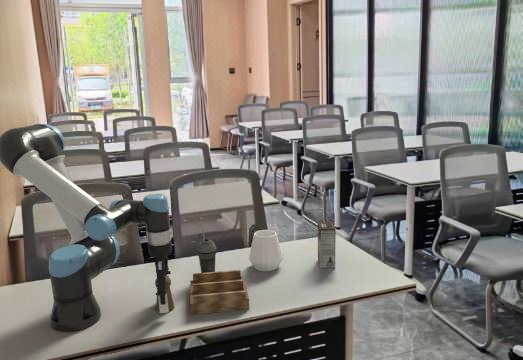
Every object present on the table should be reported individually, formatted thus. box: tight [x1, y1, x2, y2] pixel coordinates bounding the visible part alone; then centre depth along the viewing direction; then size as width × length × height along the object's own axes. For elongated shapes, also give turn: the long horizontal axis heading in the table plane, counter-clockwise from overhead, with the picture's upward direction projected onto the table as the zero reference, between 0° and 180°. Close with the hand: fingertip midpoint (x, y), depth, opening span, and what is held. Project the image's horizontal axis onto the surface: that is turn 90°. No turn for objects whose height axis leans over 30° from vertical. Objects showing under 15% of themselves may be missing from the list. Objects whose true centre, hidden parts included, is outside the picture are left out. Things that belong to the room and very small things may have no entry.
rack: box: [189, 269, 250, 315], centre depth 167 cm, size 19×18×6 cm
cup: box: [248, 229, 284, 272], centre depth 191 cm, size 13×13×14 cm
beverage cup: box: [196, 228, 217, 273], centre depth 181 cm, size 7×7×20 cm
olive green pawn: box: [154, 276, 175, 313], centre depth 161 cm, size 6×6×11 cm
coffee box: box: [317, 221, 337, 269], centre depth 192 cm, size 9×6×16 cm
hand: (165, 302), depth 162 cm, fingers open, 13 cm apart
